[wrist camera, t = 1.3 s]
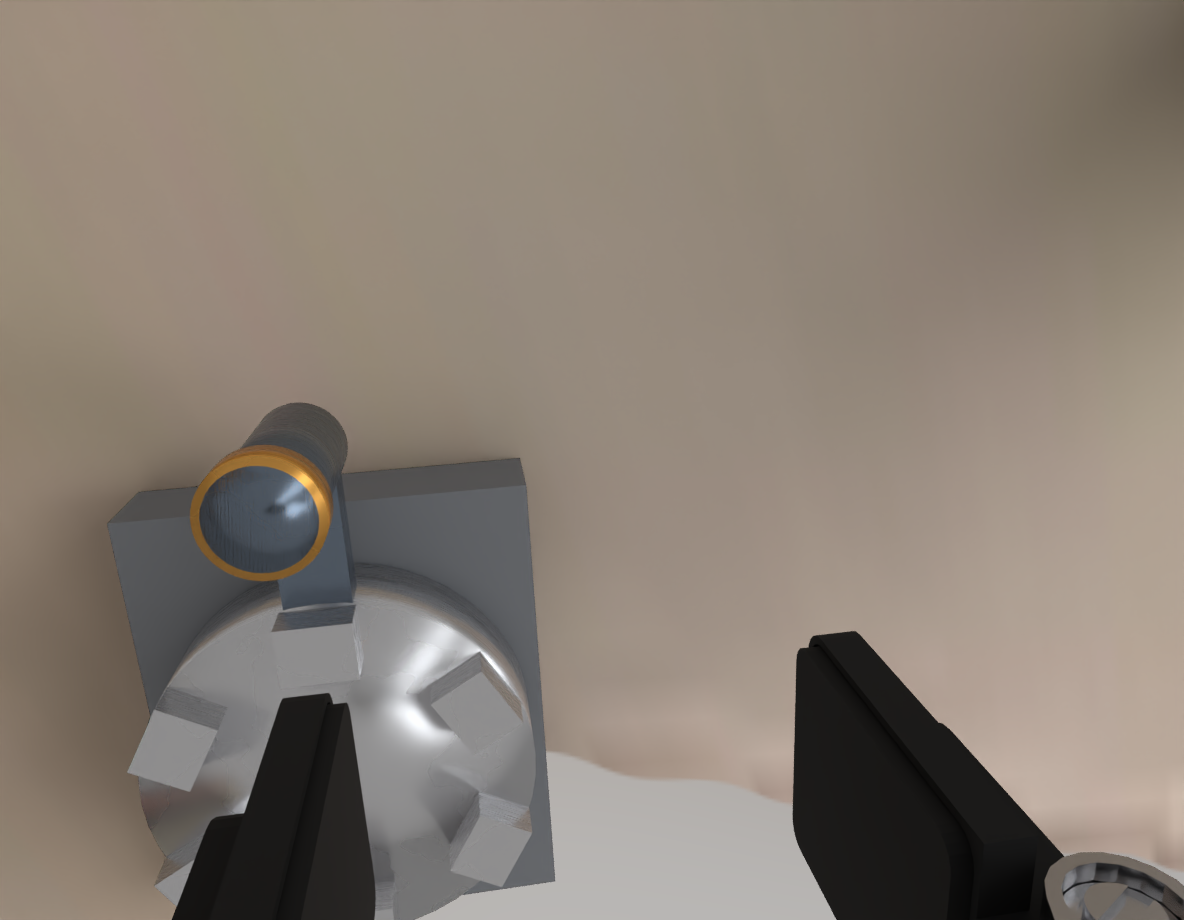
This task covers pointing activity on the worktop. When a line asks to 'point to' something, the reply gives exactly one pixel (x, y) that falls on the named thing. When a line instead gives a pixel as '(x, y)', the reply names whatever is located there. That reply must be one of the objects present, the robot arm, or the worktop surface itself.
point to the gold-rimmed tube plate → (339, 681)
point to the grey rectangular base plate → (378, 536)
